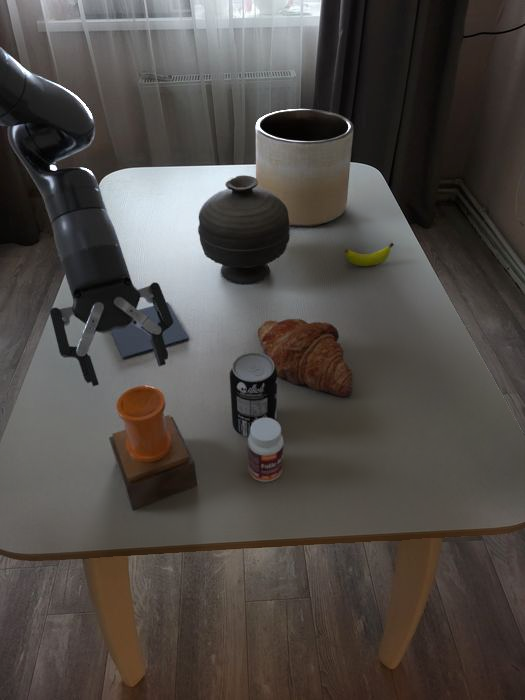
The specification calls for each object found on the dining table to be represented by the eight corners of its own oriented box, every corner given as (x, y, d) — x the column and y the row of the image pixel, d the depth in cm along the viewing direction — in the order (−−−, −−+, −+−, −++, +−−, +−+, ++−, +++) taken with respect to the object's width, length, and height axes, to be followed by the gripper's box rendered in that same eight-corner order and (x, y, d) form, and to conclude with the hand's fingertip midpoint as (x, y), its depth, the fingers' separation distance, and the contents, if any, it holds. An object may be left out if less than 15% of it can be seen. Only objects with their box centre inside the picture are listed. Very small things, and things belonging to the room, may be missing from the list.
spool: (134, 468, 70) (123, 426, 65) (122, 436, 74) (111, 394, 69) (177, 452, 72) (171, 410, 67) (164, 422, 76) (156, 380, 71)
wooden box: (132, 510, 72) (124, 483, 68) (115, 460, 78) (107, 432, 74) (197, 485, 75) (193, 457, 71) (176, 439, 81) (171, 411, 77)
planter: (271, 183, 147) (271, 104, 134) (353, 194, 142) (362, 113, 129) (243, 221, 131) (240, 136, 118) (335, 236, 126) (343, 148, 113)
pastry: (244, 390, 89) (243, 352, 84) (259, 330, 100) (258, 294, 95) (351, 400, 87) (356, 363, 82) (352, 338, 99) (357, 302, 93)
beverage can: (257, 402, 87) (256, 343, 79) (285, 426, 83) (287, 368, 75) (223, 422, 84) (219, 363, 76) (251, 449, 80) (249, 390, 72)
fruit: (388, 260, 118) (392, 240, 115) (391, 266, 116) (395, 245, 113) (341, 264, 117) (344, 243, 114) (344, 269, 116) (346, 248, 112)
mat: (122, 359, 94) (122, 357, 94) (105, 320, 103) (105, 318, 102) (189, 340, 98) (189, 337, 98) (168, 303, 107) (167, 301, 106)
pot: (185, 286, 110) (181, 187, 98) (217, 249, 124) (217, 158, 112) (271, 304, 106) (278, 203, 94) (295, 263, 120) (303, 171, 108)
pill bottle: (263, 489, 75) (263, 449, 69) (241, 466, 77) (239, 426, 72) (289, 470, 77) (291, 430, 71) (267, 449, 80) (267, 409, 74)
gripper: (29, 258, 64) (72, 391, 64) (148, 231, 69) (188, 355, 69) (35, 274, 71) (73, 394, 71) (142, 249, 76) (178, 361, 76)
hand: (129, 375), depth 70 cm, fingers open, 8 cm apart
